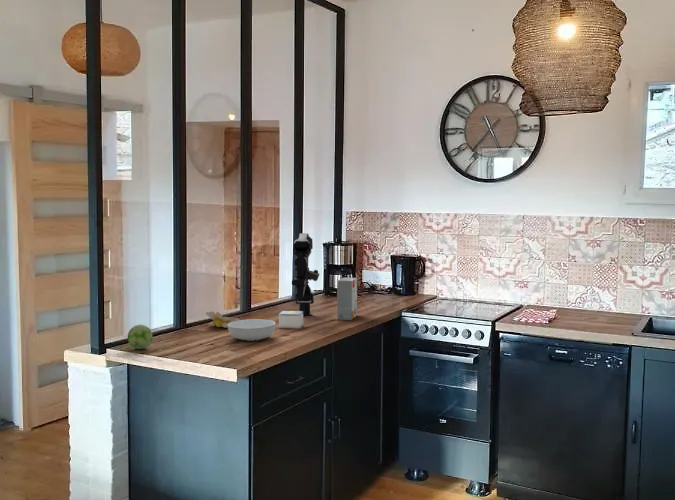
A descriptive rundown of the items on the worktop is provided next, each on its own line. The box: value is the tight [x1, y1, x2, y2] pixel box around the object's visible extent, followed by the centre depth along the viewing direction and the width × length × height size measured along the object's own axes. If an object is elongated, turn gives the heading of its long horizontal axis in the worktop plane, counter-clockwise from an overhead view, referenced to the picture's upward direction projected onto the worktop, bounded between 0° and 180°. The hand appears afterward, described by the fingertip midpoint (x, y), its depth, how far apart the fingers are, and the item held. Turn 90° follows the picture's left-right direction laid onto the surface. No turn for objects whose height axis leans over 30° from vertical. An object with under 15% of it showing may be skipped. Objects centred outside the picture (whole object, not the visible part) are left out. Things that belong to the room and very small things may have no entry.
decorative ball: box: [127, 324, 153, 350], centre depth 278 cm, size 10×10×10 cm
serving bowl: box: [227, 318, 277, 342], centre depth 298 cm, size 21×21×7 cm
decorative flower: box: [205, 311, 240, 328], centre depth 325 cm, size 15×11×10 cm
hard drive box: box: [336, 277, 358, 321], centre depth 349 cm, size 16×8×20 cm, turn 168°
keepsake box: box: [278, 313, 304, 329], centre depth 325 cm, size 8×10×6 cm
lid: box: [278, 310, 303, 316], centre depth 325 cm, size 8×10×1 cm
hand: (302, 297), depth 337 cm, fingers closed
